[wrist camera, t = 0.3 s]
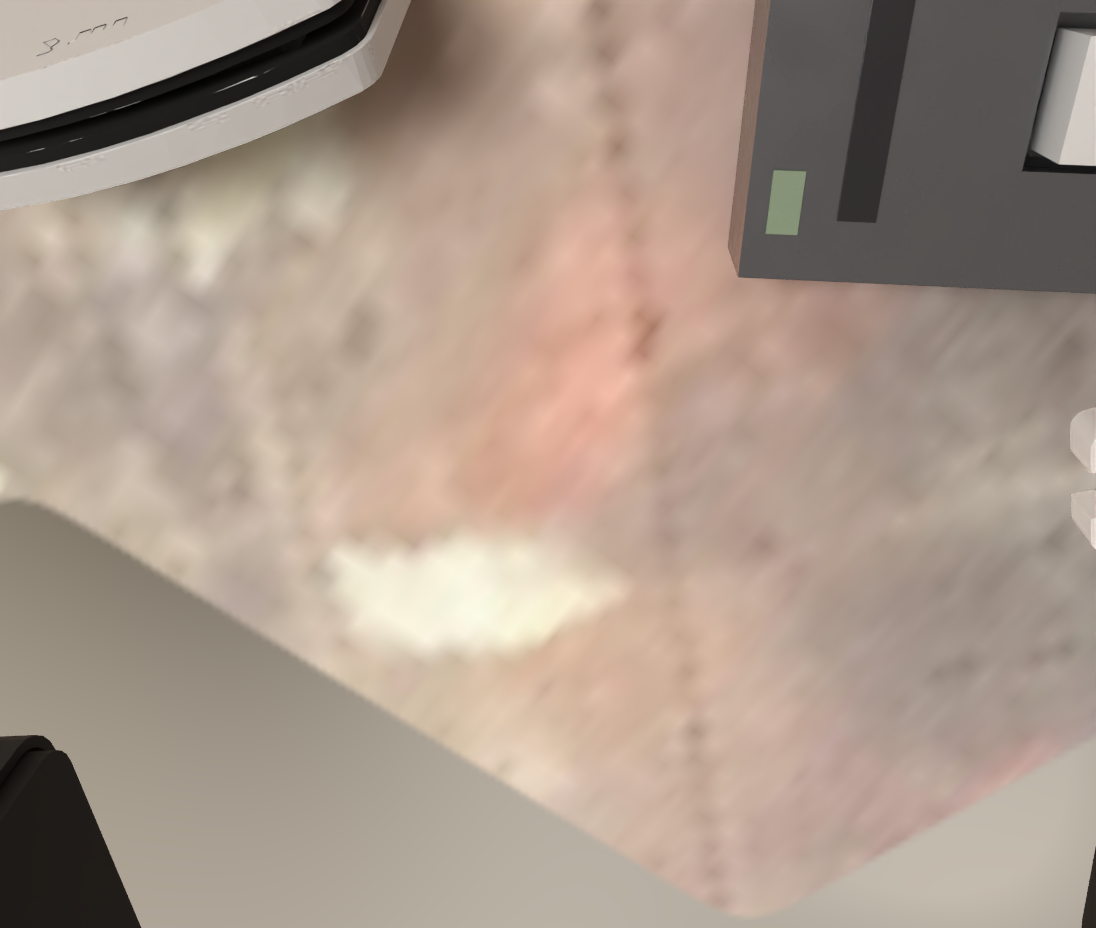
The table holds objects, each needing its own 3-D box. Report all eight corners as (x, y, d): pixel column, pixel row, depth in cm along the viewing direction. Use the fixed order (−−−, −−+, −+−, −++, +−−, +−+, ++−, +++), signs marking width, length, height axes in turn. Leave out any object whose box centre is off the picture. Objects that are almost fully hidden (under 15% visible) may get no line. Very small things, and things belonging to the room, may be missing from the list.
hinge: (373, -199, 31) (338, -76, 24) (429, -43, 35) (412, 104, 28) (-96, -34, 34) (-245, 117, 27) (-3, 95, 38) (-114, 258, 31)
